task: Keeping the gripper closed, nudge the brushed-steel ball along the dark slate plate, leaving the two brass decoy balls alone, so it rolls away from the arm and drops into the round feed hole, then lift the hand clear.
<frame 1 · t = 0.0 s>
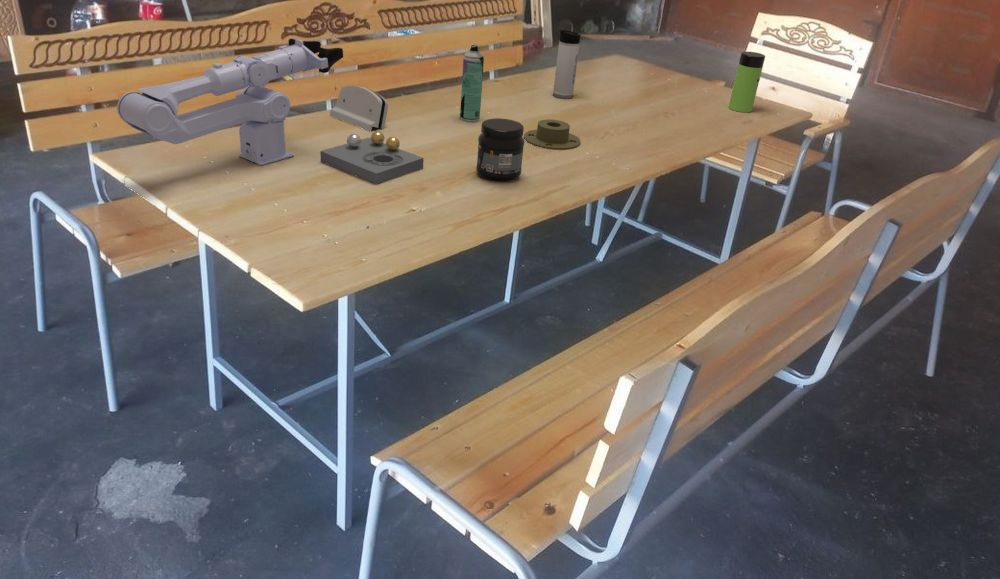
hand: (330, 49, 182), 22 cm above the table, tool horizontal, fingers open, 7 cm apart
tumbler: (740, 109, 248), on the table
decoy b: (392, 143, 181), point 4 cm above the table, touching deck
travel mug: (562, 96, 244), on the table
ball: (353, 140, 180), point 4 cm above the table, touching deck
flange: (551, 142, 206), on the table
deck: (372, 164, 179), on the table
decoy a: (377, 138, 183), point 4 cm above the table, touching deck
supplement container: (498, 175, 181), on the table
spray can: (469, 119, 215), on the table
grey rounded bracket: (360, 122, 206), on the table
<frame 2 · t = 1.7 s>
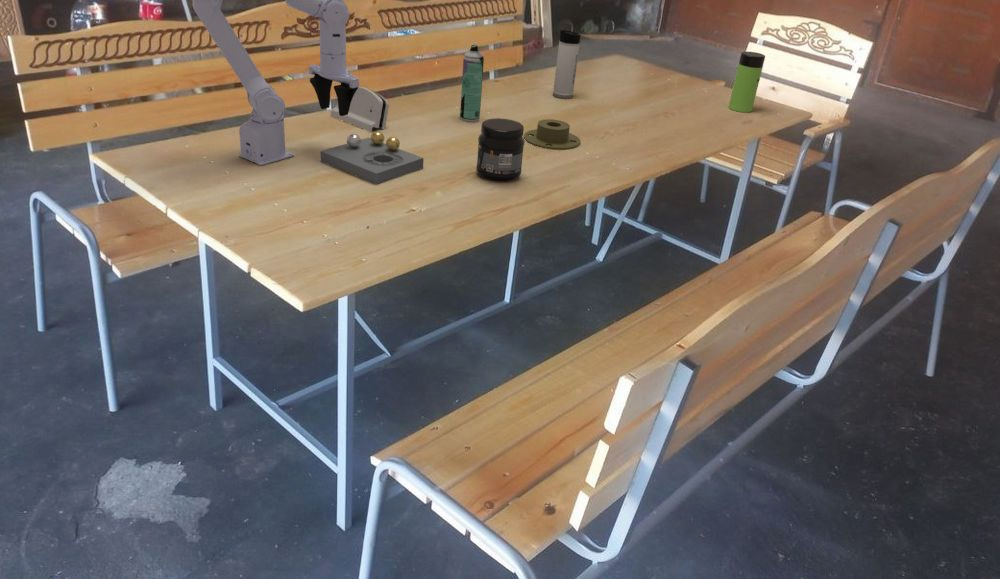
hand: (334, 111, 181), 9 cm above the table, tool pointing down, fingers open, 6 cm apart
nothing on the table moved.
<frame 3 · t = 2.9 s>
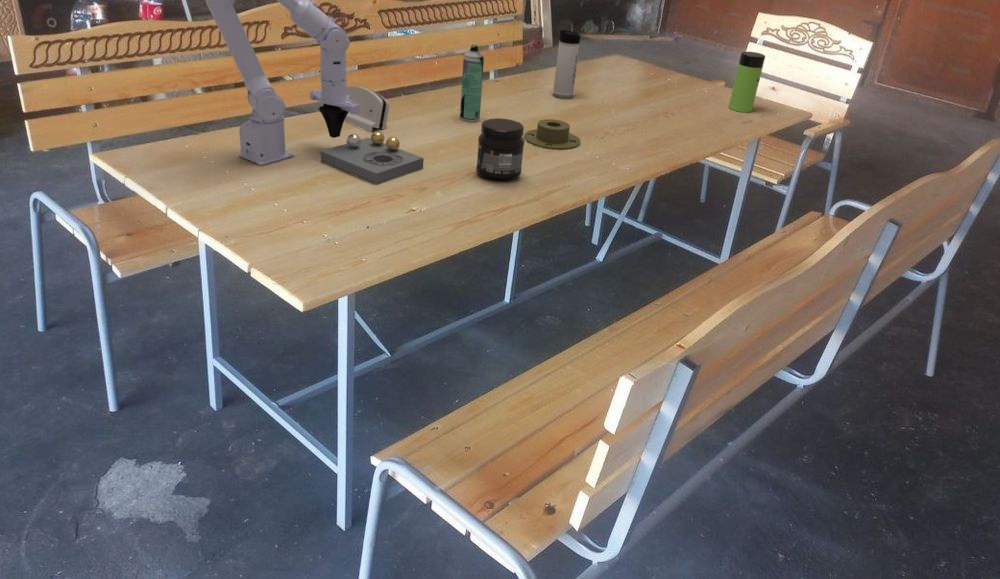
hand: (334, 136, 184), 3 cm above the table, tool pointing down, fingers closed
nothing on the table moved.
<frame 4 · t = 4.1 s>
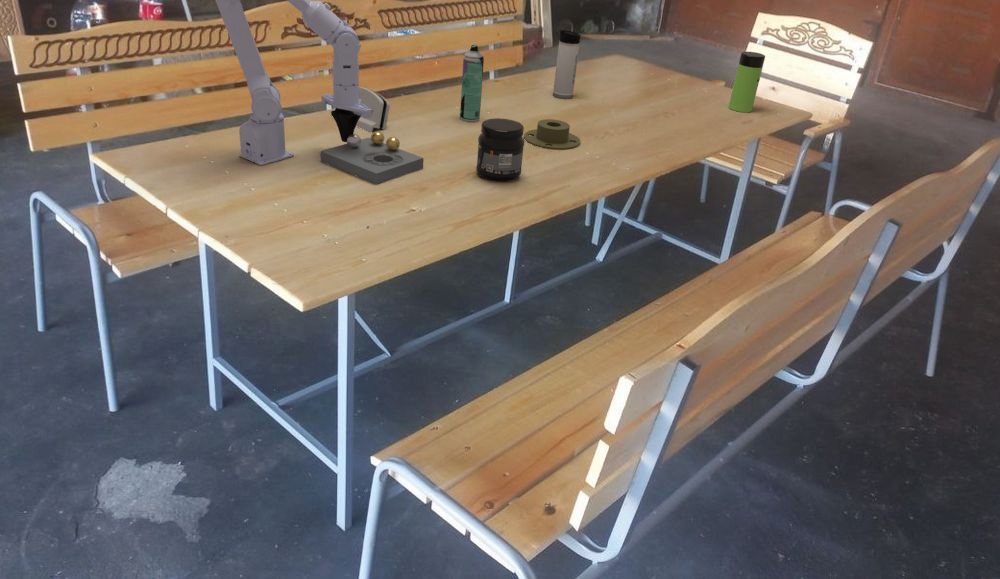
hand: (346, 140, 182), 3 cm above the table, tool pointing down, fingers closed, pressing on ball
ball: (354, 140, 180), point 4 cm above the table, touching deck, gripper
everything else where it was.
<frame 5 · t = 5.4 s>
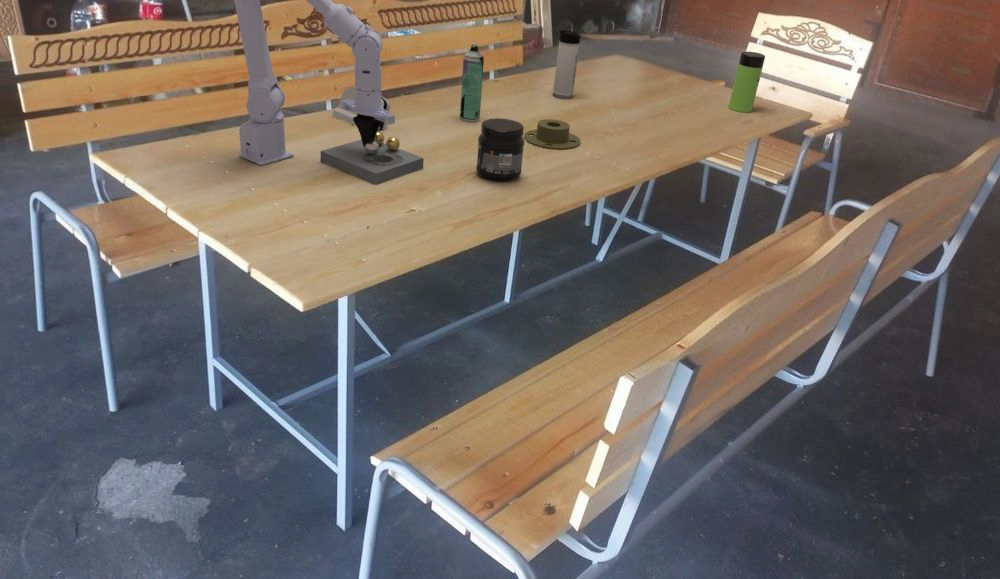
hand: (368, 147, 178), 4 cm above the table, tool pointing down, fingers closed, pressing on ball
ball: (372, 147, 177), point 4 cm above the table, tilted 147°, touching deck, gripper
everything else where it was.
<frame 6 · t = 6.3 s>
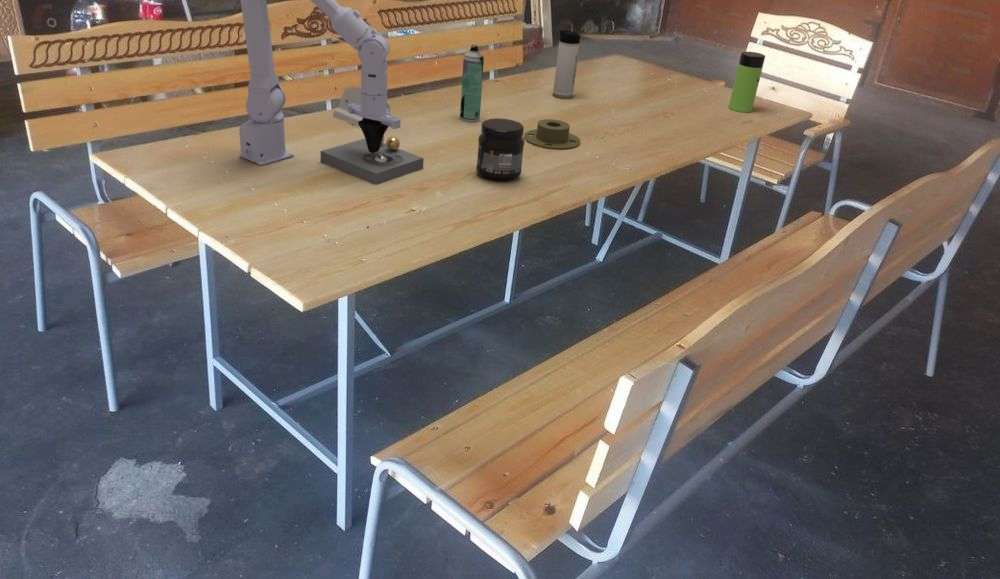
hand: (373, 151, 177), 3 cm above the table, tool pointing down, fingers closed
ball: (380, 162, 177), point 2 cm above the table, tilted 9°
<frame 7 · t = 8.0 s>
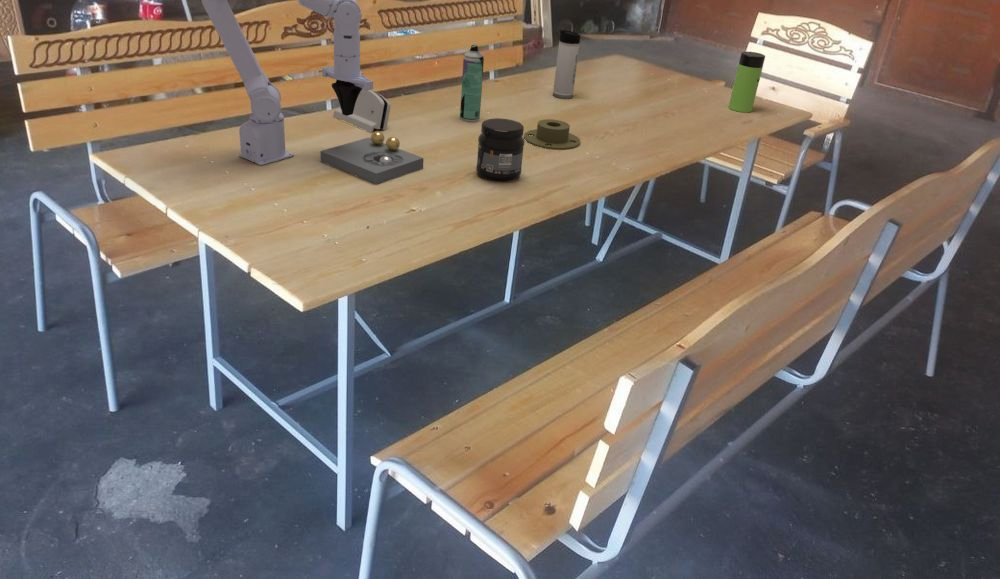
hand: (347, 114, 178), 10 cm above the table, tool pointing down, fingers closed
ball: (385, 162, 177), point 2 cm above the table, tilted 33°
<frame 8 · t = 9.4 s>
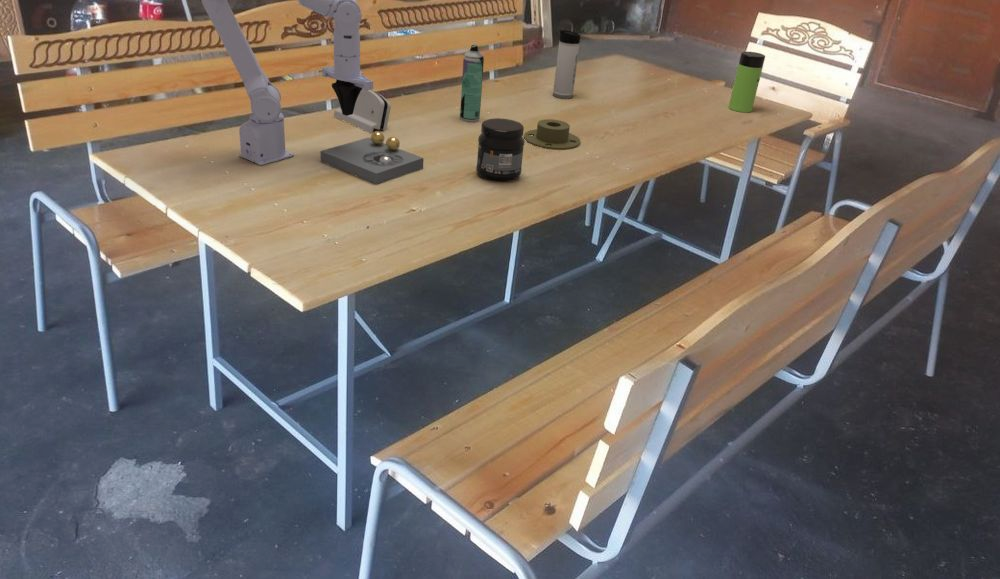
hand: (347, 114, 178), 10 cm above the table, tool pointing down, fingers closed
at the end: ball 0.6 cm from the target spot in the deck, point 1.6 cm above the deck's base; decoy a moved 0.1 cm from its start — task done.
